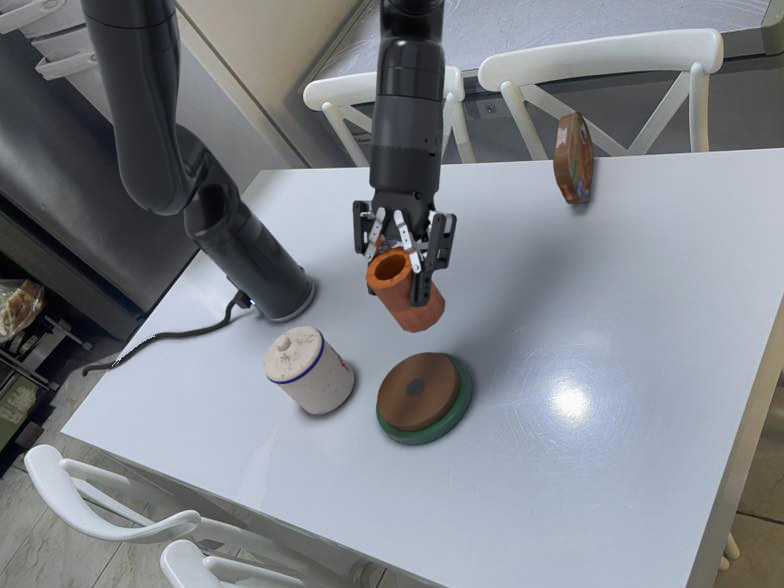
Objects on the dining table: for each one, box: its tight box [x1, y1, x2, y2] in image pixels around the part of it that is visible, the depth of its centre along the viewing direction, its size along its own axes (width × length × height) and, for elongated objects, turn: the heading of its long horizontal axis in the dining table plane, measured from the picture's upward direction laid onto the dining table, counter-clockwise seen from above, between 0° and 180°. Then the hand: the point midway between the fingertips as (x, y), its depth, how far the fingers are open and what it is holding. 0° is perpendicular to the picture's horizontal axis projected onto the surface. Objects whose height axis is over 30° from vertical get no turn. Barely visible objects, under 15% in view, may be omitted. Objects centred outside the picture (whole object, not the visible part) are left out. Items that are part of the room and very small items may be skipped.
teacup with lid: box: [263, 325, 355, 415], centre depth 95 cm, size 12×9×12 cm
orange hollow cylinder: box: [365, 245, 447, 334], centre depth 80 cm, size 6×6×8 cm
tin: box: [552, 111, 595, 205], centre depth 101 cm, size 15×3×8 cm, turn 168°
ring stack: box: [375, 351, 473, 445], centre depth 89 cm, size 13×13×3 cm
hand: (397, 299), depth 79 cm, fingers closed on orange hollow cylinder, 6 cm apart
